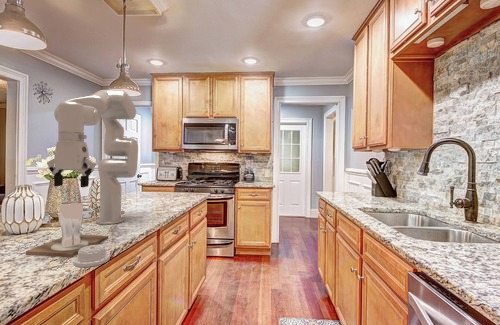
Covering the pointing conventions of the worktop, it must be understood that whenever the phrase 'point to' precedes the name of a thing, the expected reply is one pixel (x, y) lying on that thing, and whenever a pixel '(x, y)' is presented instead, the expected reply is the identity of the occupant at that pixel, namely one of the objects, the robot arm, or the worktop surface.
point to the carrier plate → (56, 249)
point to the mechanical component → (91, 256)
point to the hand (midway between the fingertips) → (71, 186)
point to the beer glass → (71, 222)
